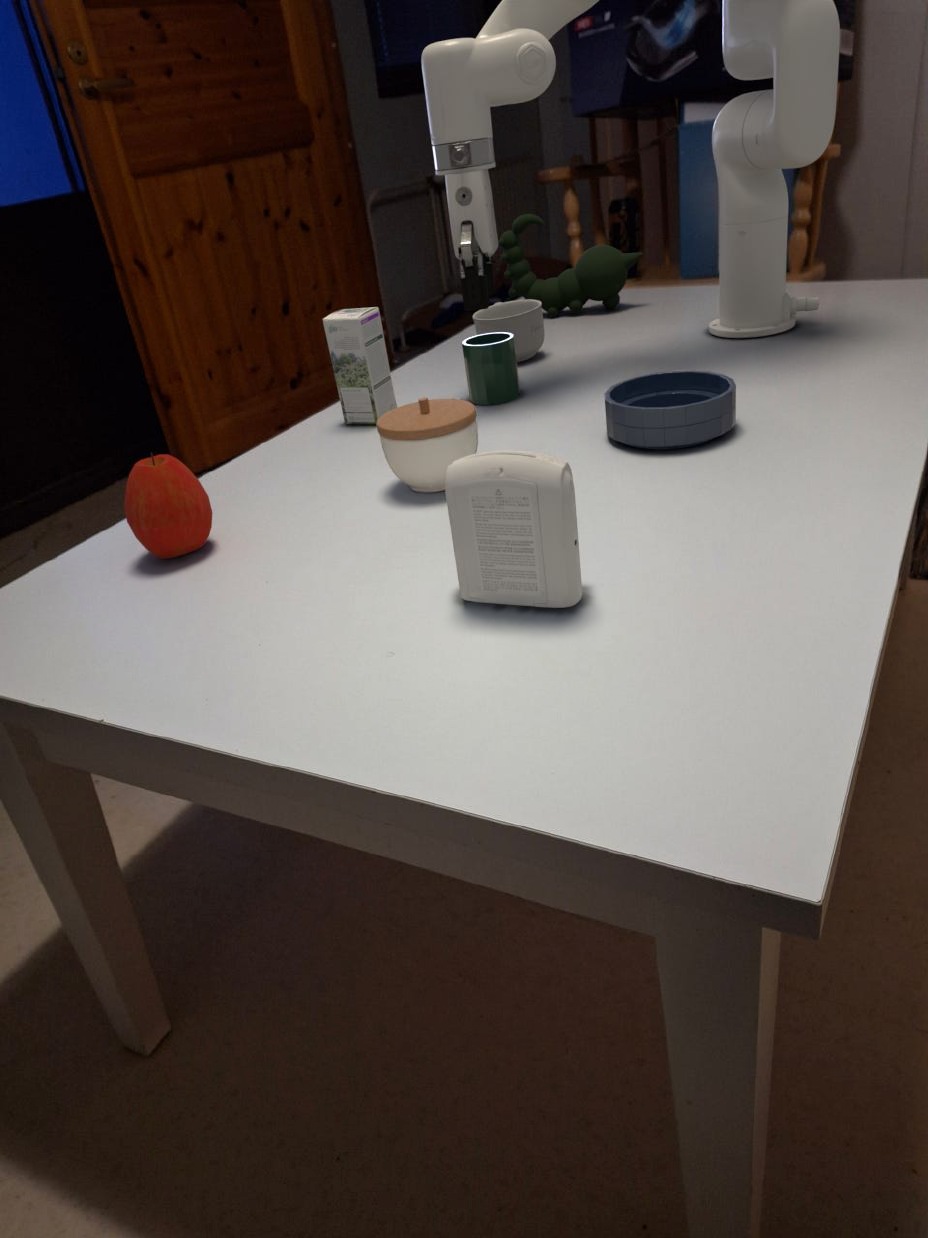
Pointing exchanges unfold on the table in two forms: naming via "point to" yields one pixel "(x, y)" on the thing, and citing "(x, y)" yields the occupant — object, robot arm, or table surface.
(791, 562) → the table surface
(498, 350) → the green cup
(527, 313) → the teacup
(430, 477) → the trinket box
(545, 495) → the photo printer
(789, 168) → the robot arm
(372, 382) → the syrup box
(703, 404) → the blue bowl
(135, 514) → the apple
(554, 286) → the toy figurine
